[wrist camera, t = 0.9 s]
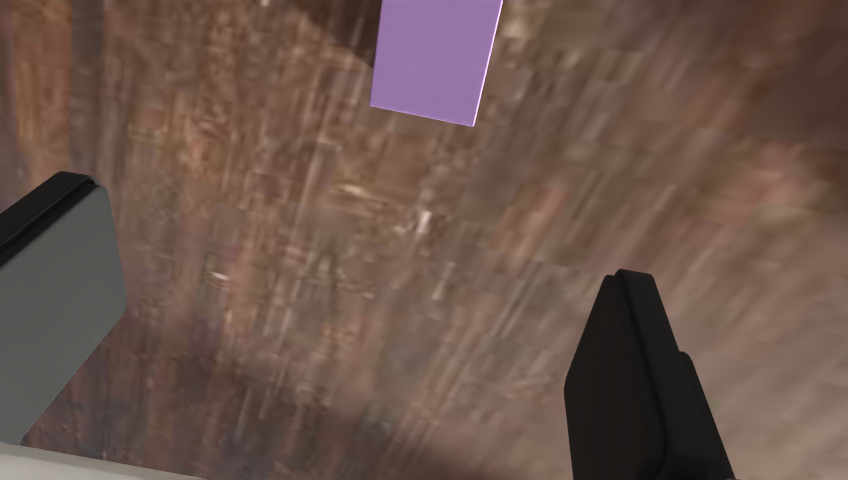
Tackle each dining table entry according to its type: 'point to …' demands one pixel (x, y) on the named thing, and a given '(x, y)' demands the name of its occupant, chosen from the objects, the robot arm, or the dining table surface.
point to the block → (433, 57)
